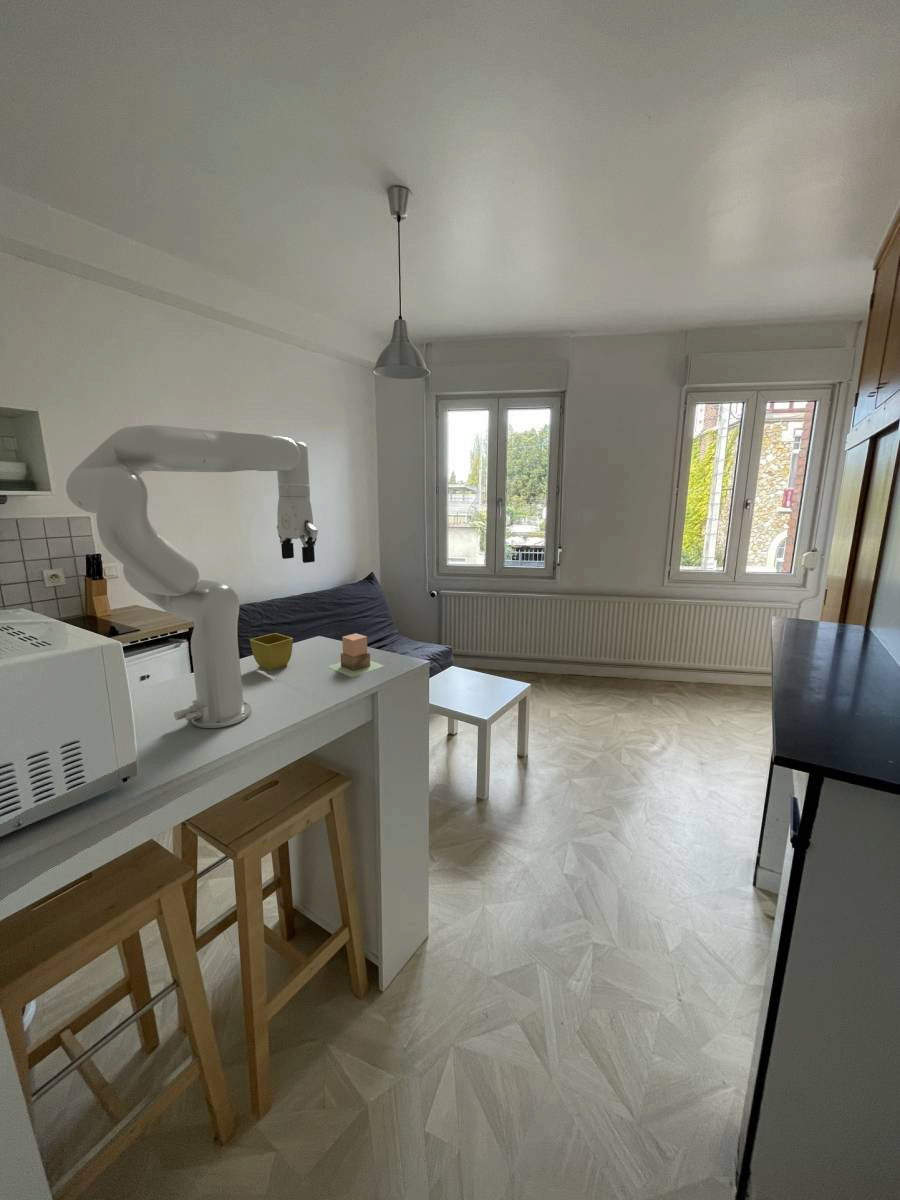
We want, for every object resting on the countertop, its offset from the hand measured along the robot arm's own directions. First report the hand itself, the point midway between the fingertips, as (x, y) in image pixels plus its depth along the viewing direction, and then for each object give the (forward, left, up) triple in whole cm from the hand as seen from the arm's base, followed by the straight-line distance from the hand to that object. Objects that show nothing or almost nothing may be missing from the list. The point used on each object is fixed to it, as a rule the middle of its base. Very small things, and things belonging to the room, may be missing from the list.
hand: (298, 560), depth 127 cm
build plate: (+15, -3, -33) cm, 37 cm away
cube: (+15, -3, -28) cm, 32 cm away
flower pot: (-1, +15, -34) cm, 37 cm away
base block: (+15, -3, -32) cm, 36 cm away
